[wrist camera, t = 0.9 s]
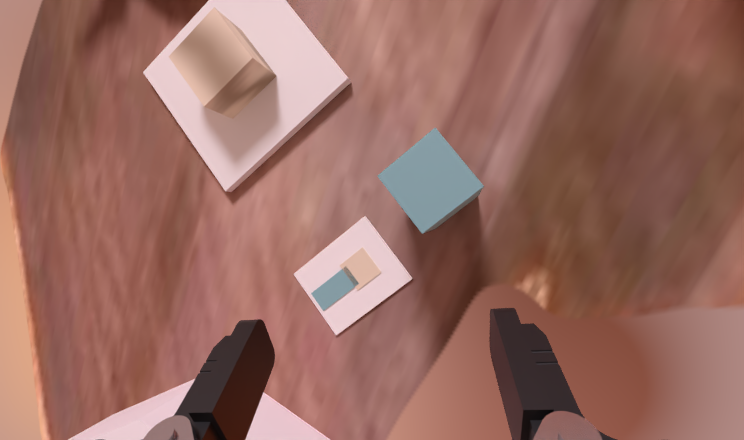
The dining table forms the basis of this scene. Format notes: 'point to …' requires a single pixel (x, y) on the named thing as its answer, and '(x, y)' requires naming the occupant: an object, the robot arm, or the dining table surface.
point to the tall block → (431, 182)
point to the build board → (271, 106)
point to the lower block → (221, 65)
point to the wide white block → (128, 427)
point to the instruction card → (352, 275)
